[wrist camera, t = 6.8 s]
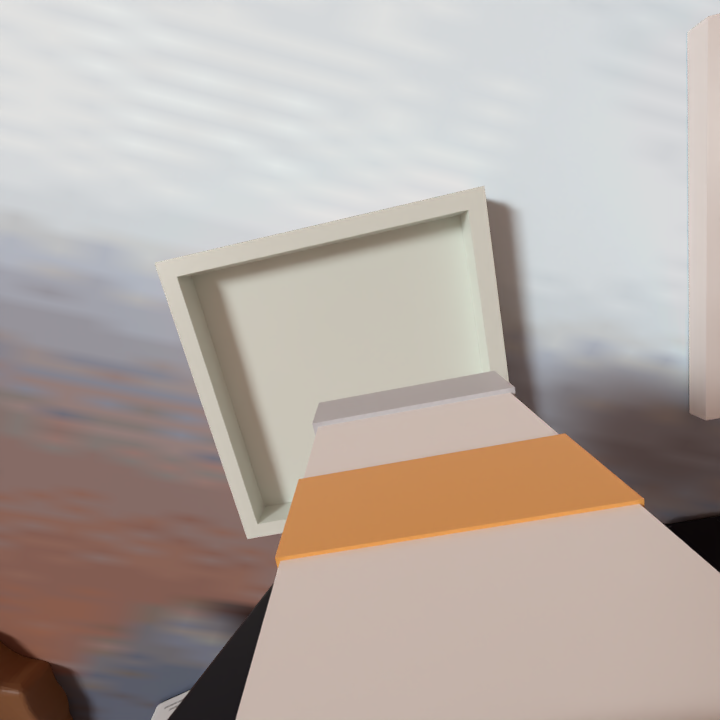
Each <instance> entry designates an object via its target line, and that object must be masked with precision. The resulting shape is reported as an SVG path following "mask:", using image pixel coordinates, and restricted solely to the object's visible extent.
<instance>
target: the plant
mask: <svg viewBox="0 0 720 720" xmlns="http://www.w3.org/2000/svg"><path fill="white" fill-rule="evenodd" d="M0 720H73V718H72V717H71V715H70V712H69V703H68V699H67V695H66V693H65V691H64V690H63V688H62V687H61V686H60V685H59V683H58V682H57V681H56V679H55V677H54V674H53V672H52V669H51V666H50V664H49V663H48V662H46V661H43V660H37V659H31V658H27V657H24V656H22V655H19V654H17V653H16V652H14V651H12V650H11V649H9V648H8V647H6V646H5V645H4V644H3V643H2V642H1V641H0Z"/></svg>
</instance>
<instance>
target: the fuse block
mask: <svg viewBox="0 0 720 720" xmlns="http://www.w3.org/2000/svg"><path fill="white" fill-rule="evenodd" d="M687 64H688V247H689V413H690V414H692V415H695V416H697V417H699V418H701V419H704V420H711V419H717V418H720V14H716V15H712V16H708V17H707V18H705V19H704V20H703V21H701V22H700V23H699V24H697V25H696V26H695V27H693V28H692V29H691V30H689V31H688V32H687Z"/></svg>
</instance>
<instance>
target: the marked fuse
mask: <svg viewBox="0 0 720 720" xmlns="http://www.w3.org/2000/svg"><path fill="white" fill-rule="evenodd" d="M312 425H313V429H314V433H315V439H314V443H313V446H312V450H311V454H310V457H309V461H308V464H307V468H306V471H305V475H304V478H302V479H299V480H298V483H297V487H296V490H295V493H294V497H293V500H292V503H291V506H290V510H289V513H288V516H287V520H286V523H285V526H284V530H283V533H282V536H281V540H280V543H279V546H278V549H277V553H276V556H275V560H276V563H277V567H278V571H277V574H276V578H275V581H274V585H273V588H272V592H271V595H270V599H269V603H268V606H267V610H266V613H265V617H264V620H263V624H262V627H261V631H260V635H259V638H258V642H257V645H256V649H255V652H254V656H253V659H252V663H251V666H250V670H249V674H248V677H247V681H246V684H245V688H244V691H243V695H242V698H241V702H240V705H239V709H238V713H237V716H236V720H720V573H719V572H718V571H717V570H716V569H715V568H713V567H712V566H711V565H710V564H709V563H708V562H707V561H705V560H704V559H703V558H702V557H701V556H700V555H698V554H697V553H696V552H695V551H694V550H693V549H691V548H690V547H689V546H688V545H687V544H686V543H684V542H683V541H682V540H681V539H680V538H679V537H677V536H676V535H675V534H674V533H673V532H672V531H671V530H669V529H668V528H667V527H666V526H665V525H664V524H662V523H661V522H660V521H659V520H658V519H657V518H655V517H654V516H653V515H652V514H651V513H650V512H648V511H647V510H646V509H645V508H644V498H642V497H641V496H640V495H639V494H638V493H636V492H635V491H634V490H633V489H632V488H630V487H629V486H628V485H627V484H625V483H624V482H623V481H622V480H621V479H619V478H618V477H617V476H616V475H615V474H613V473H612V472H611V471H610V470H609V469H607V468H606V467H605V466H604V465H603V464H601V463H600V462H599V461H598V460H597V459H595V458H594V457H593V456H592V455H591V454H589V453H588V452H587V451H586V450H585V449H583V448H582V447H581V446H580V445H578V444H577V443H576V442H575V441H574V440H572V439H571V438H570V437H569V436H568V435H566V434H558V433H557V432H556V431H554V430H553V429H552V428H551V427H550V426H549V425H547V424H546V423H545V422H544V421H543V420H542V419H540V418H539V417H538V416H537V415H536V414H535V413H534V412H532V411H531V410H530V409H529V408H528V407H527V406H525V405H524V404H523V403H522V402H521V401H520V400H518V399H517V398H516V394H515V387H514V386H513V385H512V384H510V383H509V382H508V381H507V380H505V379H504V378H503V377H502V376H500V375H499V374H498V373H497V372H495V371H490V372H484V373H479V374H473V375H468V376H462V377H457V378H451V379H446V380H441V381H435V382H430V383H424V384H419V385H413V386H408V387H402V388H397V389H391V390H386V391H380V392H375V393H369V394H364V395H359V396H353V397H348V398H342V399H337V400H331V401H326V402H320V403H319V404H318V407H317V410H316V413H315V417H314V420H313V423H312Z"/></svg>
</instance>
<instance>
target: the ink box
mask: <svg viewBox="0 0 720 720" xmlns="http://www.w3.org/2000/svg"><path fill="white" fill-rule="evenodd" d="M189 691H190V690H189ZM189 691H187V692H185V693H183V694H180V695H178V696H176V697H174V698H171V699H169V700H167V701H164V702H163V703H161V704H159V705H158V706H157V708H156V710H155V712H154V715H153V717H152V719H151V720H167V719H168V718H169V717H170V715H171V714H172V713H173V712H174V710H175V709H176V708H177V706H178V705H179V704H180V703H181V701H182V700H183V699H184V697H185V696H186V695H187V694H188V692H189Z"/></svg>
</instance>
